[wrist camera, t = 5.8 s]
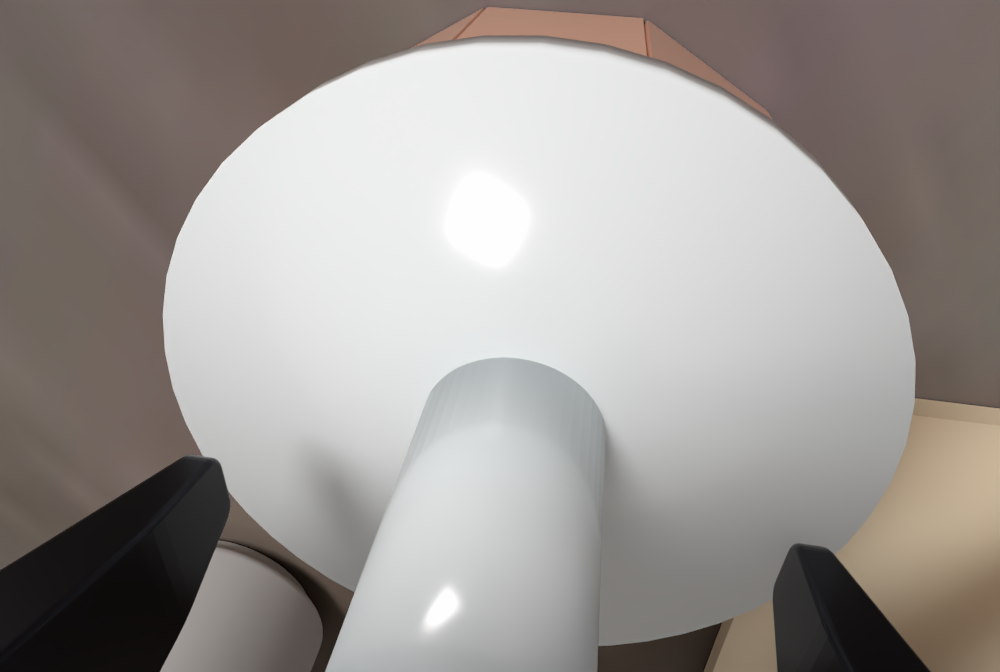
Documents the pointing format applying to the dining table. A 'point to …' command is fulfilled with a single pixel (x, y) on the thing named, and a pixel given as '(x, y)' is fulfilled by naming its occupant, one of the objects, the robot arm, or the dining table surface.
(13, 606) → the robot arm
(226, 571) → the beverage can
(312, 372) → the lid
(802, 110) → the dining table surface
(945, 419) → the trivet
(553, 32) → the bowl
